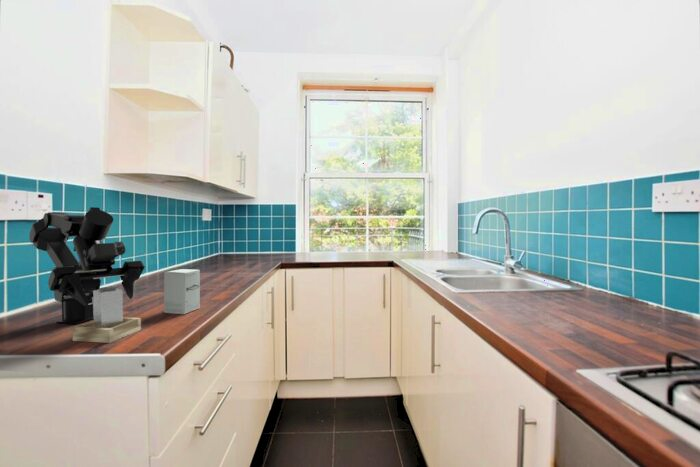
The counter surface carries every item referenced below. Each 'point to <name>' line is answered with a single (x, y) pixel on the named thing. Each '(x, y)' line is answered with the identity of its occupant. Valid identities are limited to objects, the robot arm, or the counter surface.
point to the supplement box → (181, 291)
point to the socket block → (108, 307)
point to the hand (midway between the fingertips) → (110, 301)
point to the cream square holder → (106, 331)
